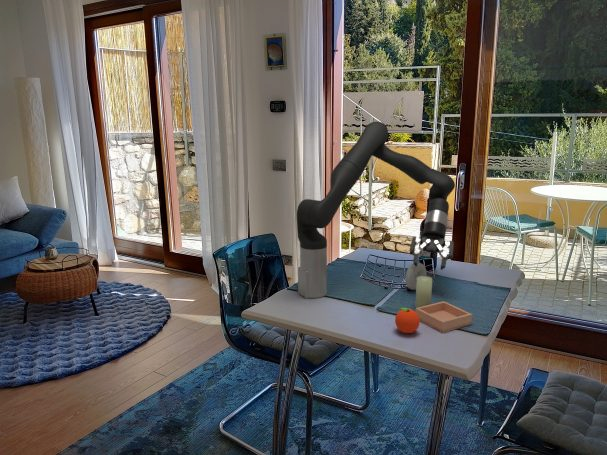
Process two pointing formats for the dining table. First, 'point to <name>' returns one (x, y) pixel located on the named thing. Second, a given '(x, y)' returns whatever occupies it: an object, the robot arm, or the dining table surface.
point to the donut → (411, 274)
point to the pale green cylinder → (423, 291)
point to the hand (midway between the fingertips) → (428, 267)
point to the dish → (443, 316)
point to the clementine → (407, 320)
